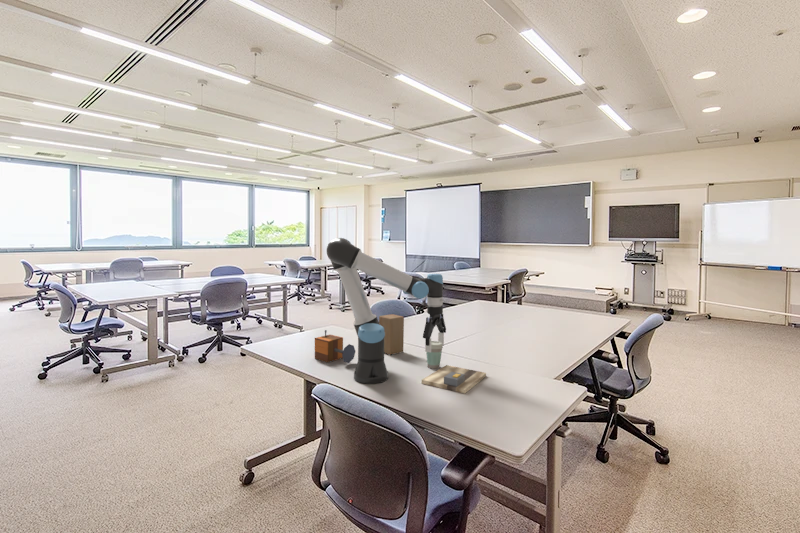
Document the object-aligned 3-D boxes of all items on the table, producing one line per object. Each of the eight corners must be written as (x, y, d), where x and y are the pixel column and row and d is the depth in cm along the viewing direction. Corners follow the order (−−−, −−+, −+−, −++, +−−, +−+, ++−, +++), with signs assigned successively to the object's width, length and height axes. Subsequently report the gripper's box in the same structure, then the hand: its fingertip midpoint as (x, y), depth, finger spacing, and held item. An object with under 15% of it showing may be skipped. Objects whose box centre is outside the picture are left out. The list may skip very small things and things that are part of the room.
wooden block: (391, 348, 223) (392, 313, 222) (403, 352, 216) (404, 316, 214) (378, 351, 216) (378, 315, 215) (390, 355, 209) (390, 318, 208)
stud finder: (443, 383, 163) (443, 375, 163) (451, 378, 170) (451, 370, 170) (456, 386, 160) (457, 378, 160) (464, 381, 167) (464, 373, 166)
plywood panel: (421, 383, 167) (421, 379, 167) (446, 368, 189) (446, 364, 189) (464, 393, 157) (464, 389, 157) (486, 376, 178) (486, 372, 178)
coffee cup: (445, 367, 190) (446, 343, 190) (435, 371, 184) (435, 346, 183) (432, 363, 196) (432, 339, 195) (421, 367, 190) (421, 342, 189)
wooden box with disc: (340, 366, 189) (341, 337, 188) (314, 358, 201) (314, 331, 200) (356, 361, 197) (356, 333, 196) (330, 354, 209) (330, 328, 209)
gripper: (429, 310, 176) (429, 356, 177) (452, 302, 197) (452, 344, 198) (415, 308, 180) (415, 353, 181) (439, 301, 201) (439, 342, 202)
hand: (434, 348), depth 190 cm, fingers open, 13 cm apart
